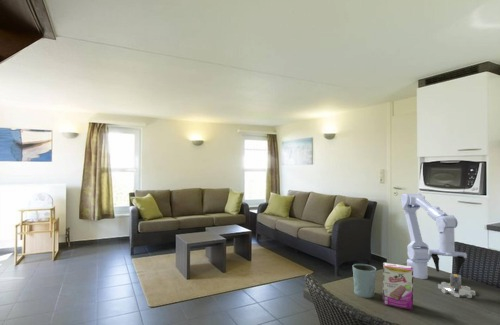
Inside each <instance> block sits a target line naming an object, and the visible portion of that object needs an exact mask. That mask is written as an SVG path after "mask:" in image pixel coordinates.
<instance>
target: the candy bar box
mask: <svg viewBox="0 0 500 325" xmlns="http://www.w3.org/2000/svg"><path fill="white" fill-rule="evenodd" d="M382 265H383V267H382V269H383V270H382V304H383V305H385V306H390V307H395V308H400V309H406V310H411V311H413V310H414V306H413V305H414V277H413V268H412V267H411V266H407V265H405V264H404V265H403V264H396V263H389V262H383V263H382Z"/></svg>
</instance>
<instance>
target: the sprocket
mask: <svg viewBox="0 0 500 325" xmlns="http://www.w3.org/2000/svg"><path fill="white" fill-rule="evenodd" d="M437 288H438V289H439V290H441V292H442V293H443V294H449V295H452V296H454V297H456V298H460V297H464V298H468V299H473V296H476V290H472V289H471V287H470V286H467V285H465V286H464V285H462V284H461V288H460V287H459V282H457V281H454V285H453V286H451V285H450V282H446V281H441V283H437Z"/></svg>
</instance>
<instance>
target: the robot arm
mask: <svg viewBox="0 0 500 325" xmlns="http://www.w3.org/2000/svg"><path fill="white" fill-rule="evenodd" d="M400 202H401V207H402V210H403V213H404V215H405V221H406V224H407V229H408V234H409V238H410V242H409V243H408V245H407V246H406V247H407V252H406V254H407V257H408V258H407V260H406V266H411V267H412V268H413V278H416V279H419V280H420V279H421V280H426V279H428V272H429V271H428V262H430V260H431V259H432V261H433V263H434V266H435V267H434V268H435V271H436V272H440V257H439V256H444V257H445V256H446V257H454V263H455V265H454V267H455V268H454V270H455V274H457V275H460V271H461V267H462V265H463V264H464V262H465V259H467V258H468V257H467V256H468V255H467V253H466V252H464V251H463V252H462V251H455V250H456V248H455V247H456V246H455V228H457V227H458V219H457V218H456V216H454V215H451V214H448V213H447V212H445V211H444V210H442V209H441V208H440V207H439V206H436V205H435V206H433V205H432V204H431V203H430V202H428V201H427V200H426V197H425V195H423V194H422V193H403V194H402V195H401V198H400ZM420 208H422V209H423V210H424V211H425V212H426V213H427V215H428V216H429V217H430V218H431V219H432V220H434V221H435V224H436V226H437V231H438V232H439V234H438V237H439V240H438V242H439V244H438V245H439V247H438V248H439V249H430V248H429V245H428V244H427V243H425V242H424V241H423V237H422V234H421V230H420V224H419V222H418V218H417V213H416V212H417V210H419V209H420Z"/></svg>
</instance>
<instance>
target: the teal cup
mask: <svg viewBox="0 0 500 325" xmlns="http://www.w3.org/2000/svg"><path fill="white" fill-rule="evenodd" d="M352 273H353V274H352V277H353V278H352V279H353V292H354V294H355V295H356V296H358V297H360V298H364V299H365V298H366V299H371V298H373V297H375V289H376V288H375V286H376V277H377V268H376V267H375V266H373V265H371V264H365V263H354V264H353V265H352Z"/></svg>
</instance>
